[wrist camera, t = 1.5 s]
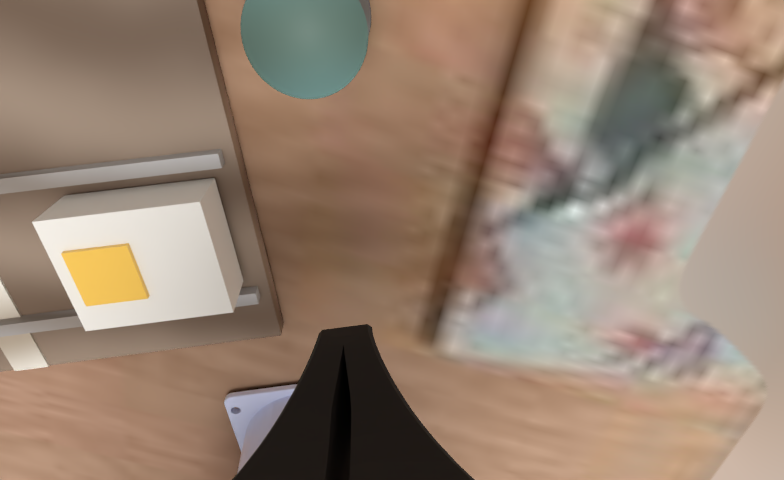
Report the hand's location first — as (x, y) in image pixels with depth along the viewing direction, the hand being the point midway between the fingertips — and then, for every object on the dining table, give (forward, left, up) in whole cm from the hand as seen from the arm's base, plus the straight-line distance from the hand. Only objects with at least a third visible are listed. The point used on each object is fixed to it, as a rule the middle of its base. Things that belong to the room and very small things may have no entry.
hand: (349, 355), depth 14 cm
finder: (0, +8, -9) cm, 12 cm away
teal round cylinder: (+8, 0, -10) cm, 13 cm away
